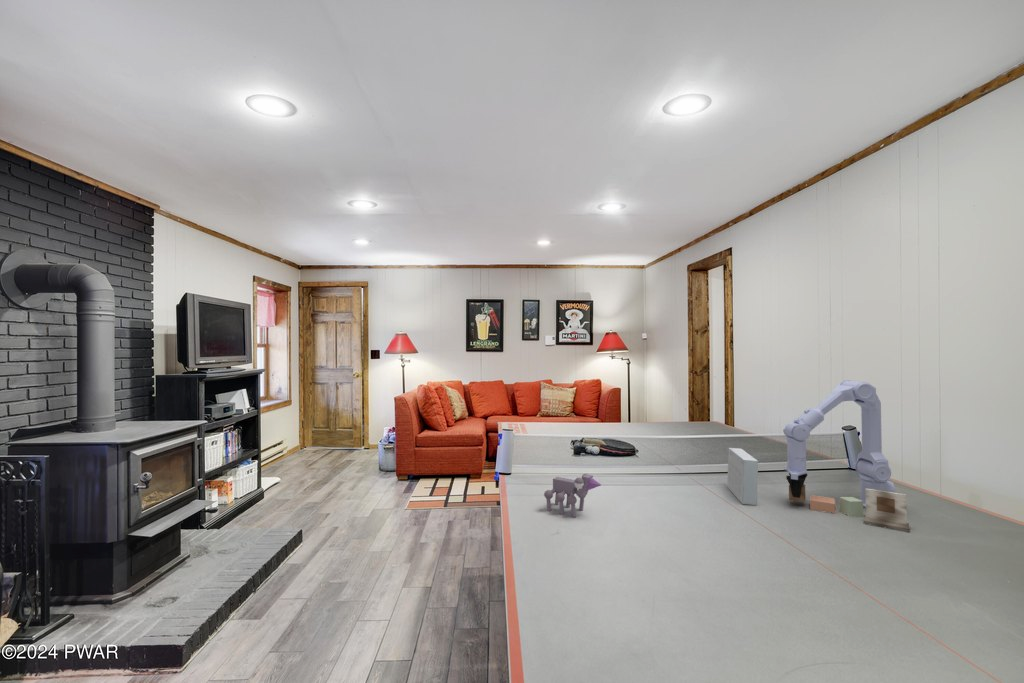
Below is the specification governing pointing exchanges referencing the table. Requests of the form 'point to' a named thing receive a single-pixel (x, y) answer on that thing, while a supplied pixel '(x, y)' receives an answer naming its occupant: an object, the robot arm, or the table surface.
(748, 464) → the skincare box
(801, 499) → the walnut block
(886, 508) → the card
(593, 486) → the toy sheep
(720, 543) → the table surface
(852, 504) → the sage block
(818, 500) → the base block
